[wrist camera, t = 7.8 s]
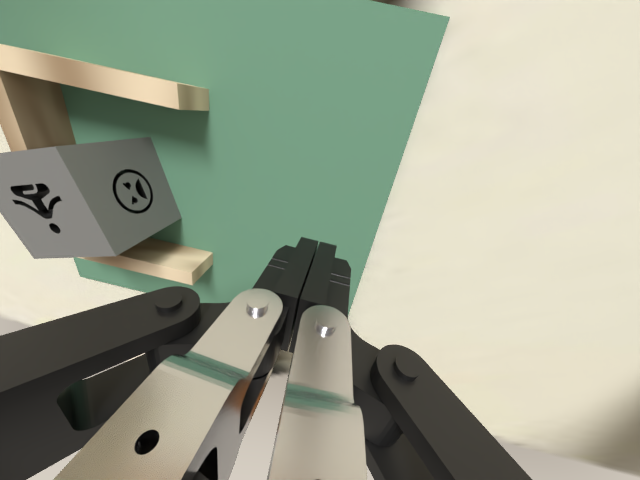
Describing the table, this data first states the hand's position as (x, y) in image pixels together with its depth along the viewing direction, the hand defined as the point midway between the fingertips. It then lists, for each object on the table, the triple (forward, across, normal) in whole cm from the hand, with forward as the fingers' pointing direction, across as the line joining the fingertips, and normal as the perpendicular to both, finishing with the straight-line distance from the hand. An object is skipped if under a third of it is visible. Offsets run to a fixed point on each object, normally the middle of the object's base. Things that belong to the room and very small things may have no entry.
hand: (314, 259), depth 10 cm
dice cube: (+5, +13, +1) cm, 14 cm away
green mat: (+5, +8, 0) cm, 10 cm away
